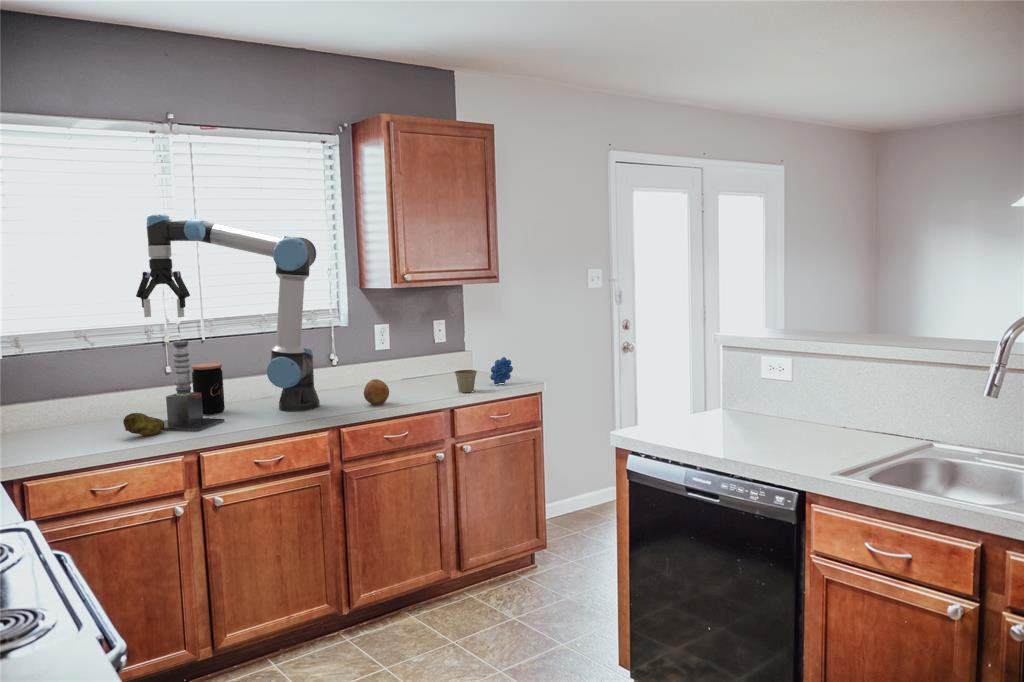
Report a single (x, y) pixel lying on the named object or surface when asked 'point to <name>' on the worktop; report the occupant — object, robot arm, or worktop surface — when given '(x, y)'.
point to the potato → (143, 424)
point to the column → (182, 368)
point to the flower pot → (465, 380)
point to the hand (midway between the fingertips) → (164, 317)
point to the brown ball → (376, 392)
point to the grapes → (501, 371)
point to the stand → (187, 414)
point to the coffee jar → (209, 386)
